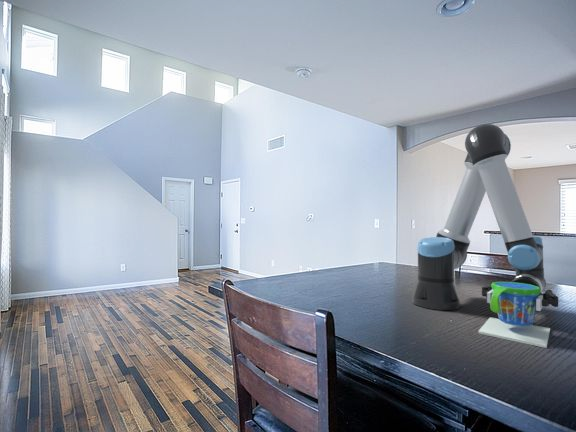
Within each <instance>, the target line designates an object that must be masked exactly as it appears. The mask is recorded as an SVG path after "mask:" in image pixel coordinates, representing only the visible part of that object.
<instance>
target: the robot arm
mask: <svg viewBox="0 0 576 432" xmlns="http://www.w3.org/2000/svg"><path fill="white" fill-rule="evenodd" d="M511 146H512V145H511V140H510V138H509V137H508V135H507V134H505V132H504V130H503V129H502V128H500V127H499V126H497V125H495V124H491V123H483V124H480V125H477V126H475V127H473V128H472V129H471V130H470V131H469V132H468V133H467V135H466V137H465V141H464V147H465V150H466V152H467V153H466V156H465V160H464V162H463V164H464V166H465V168H466V169H465V172H464V174H463V177H462V180H461V182H460V185H459V188H458V191H457V193H456V195H455V198H454V201H453V203H452V207H451V209H450V211H449V214H448V216H447V219H446V221H445V225H444V226H443V228H442V229H440V230H438V231H437V233H436V236H432V237H423V238H421V239H420V240H418V242H417V243H418V244H417V249H416V250H417V283H416V286H415V289H414V291H413V294H412V303H413V304H414V305H416V306H418V307H421V308H425V309H430V310H439V311H452V310H453V311H454V310H458V309H460V307H461V304H460V303H461V301H460V298H459V295H458V291H457V290H456V286H455V270H457V269H459V268H460V267H462V266H463V265H464V264H465V262H466V261H467V258H468V249H469V247H470V244H471V240H470V239H469V234H470V231H471V229H472V227H473V225H474V222H475V219H476V216H477V214H478V212H479V210H480V207H481V204H482V201H483V199H484V197H485V194H486V195H487V197H488V201H489V203H490V206H491V209H492V211H493V214H494V216H495V217H494V218H495V220H496V223H497V225H498V228H499V231H500V233H501V234H500V235H501V237H502V238H503V242H504V246H505V248H506V252H507V260H508V263H509V264H510V265H511V267H513V268H515V277H514V278H513V279H512V280H511V281H510V282H516V283H524V284H530V285H534V286H537V287H539V288H540V289H541V293H540V294H539V295H538V297H537V299H536V310H535V312H536V311H538V312H541V310H542V309H543V307H546V308H547V307H549V306H550V305H551V306H552V307H554V308H558V307H559V296H558V295H556V294H555V293H554V292H553V290H551V289H547V290H545V289H546V286H547V285H546V284H547V283H546V278H545V270H544V269H545V268H544V244H543V239H542V237H541V236H536V235H535V236H534V235H533V232H532V230H531V226H530V225H529V222H528V219H527V216H526V214H525V211H524V208H523V206H522V203H521V200H520V198H519V195H518V192H517V189H516V187H515V184H514V182H513V178H512V176H511V173H510V171H509V168H508V165H507V163H506V159H507V158H508V156H509V155H510V152H511V149H512V147H511ZM493 291H494V290H493V289H492V287H491V285H487V286H483V287H481V296H482V297H485V298H486V303H487V304H490V303H491V298H492V293H493Z"/></svg>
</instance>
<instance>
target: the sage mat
mask: <svg viewBox="0 0 576 432" xmlns="http://www.w3.org/2000/svg"><path fill="white" fill-rule="evenodd" d="M550 332H551V328H550V327H546V326H540V325H535V324H533V325H530V326H515V325H511V324H506V323H504V322H502V321H501V320H499V318H496V317H489V318H488V319H487V320H486V321H485V322H484V324H483V325H482V326H481V327H480V328H479V329H478V331H477V333H478V334H479V335H484V336H489V337H494V338H498V339H502V340H508V341H511V342H516V343H521V344H525V345H531V346H535V347H540V348H544V349H547V348H548V342H549V338H550Z"/></svg>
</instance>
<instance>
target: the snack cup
mask: <svg viewBox="0 0 576 432" xmlns="http://www.w3.org/2000/svg"><path fill="white" fill-rule="evenodd" d="M490 286H491V287H492V289H493V290H494V291H493V293H492V298H491V303H489V305H490V306H489V308H490V311H492V312H493V313H495V314H497V316H498V318H497V319H499V320H501V321H502V322H504V323H506V324H511V325H515V326H530V325H534V324H533V323H534V320H535V315H536V299H537V297H538V295H539V294H540V293H541V289H540V288H539V287H537V286H534V285H530V284H524V283H516V282H511V281H494V282H492V283H491V285H490Z"/></svg>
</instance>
